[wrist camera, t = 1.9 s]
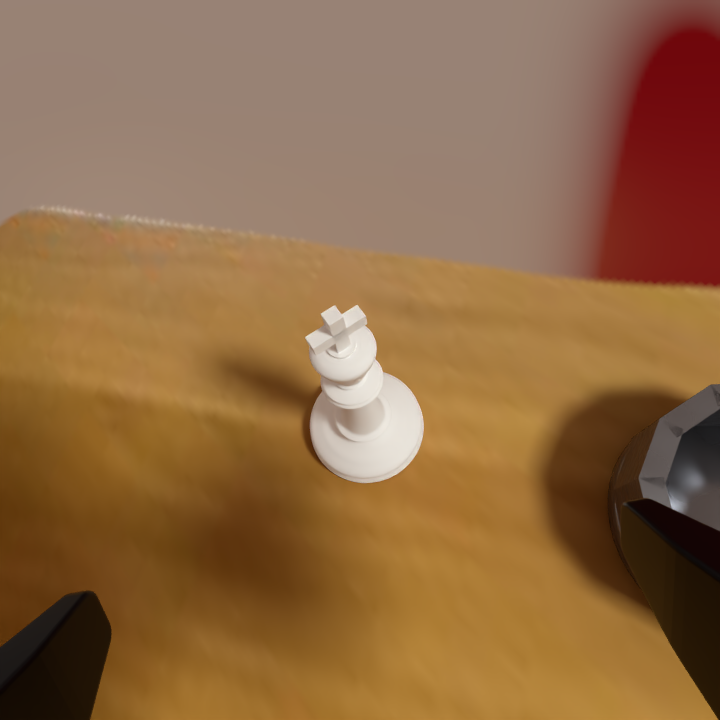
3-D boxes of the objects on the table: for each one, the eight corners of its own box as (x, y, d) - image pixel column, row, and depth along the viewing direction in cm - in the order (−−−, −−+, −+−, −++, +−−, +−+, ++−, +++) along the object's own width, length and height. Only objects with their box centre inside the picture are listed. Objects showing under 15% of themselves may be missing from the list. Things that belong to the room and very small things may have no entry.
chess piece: (446, 440, 22) (467, 334, 13) (349, 506, 21) (298, 445, 12) (381, 354, 24) (359, 209, 15) (290, 412, 23) (208, 298, 14)
